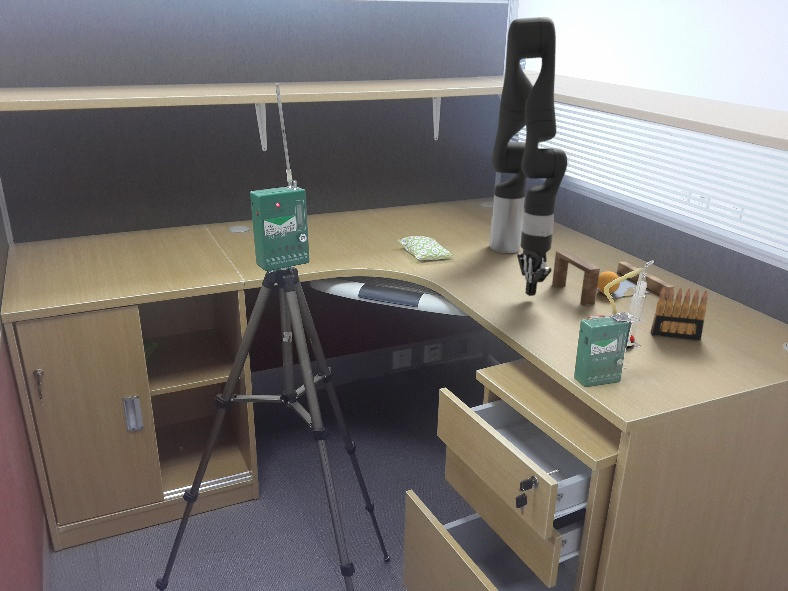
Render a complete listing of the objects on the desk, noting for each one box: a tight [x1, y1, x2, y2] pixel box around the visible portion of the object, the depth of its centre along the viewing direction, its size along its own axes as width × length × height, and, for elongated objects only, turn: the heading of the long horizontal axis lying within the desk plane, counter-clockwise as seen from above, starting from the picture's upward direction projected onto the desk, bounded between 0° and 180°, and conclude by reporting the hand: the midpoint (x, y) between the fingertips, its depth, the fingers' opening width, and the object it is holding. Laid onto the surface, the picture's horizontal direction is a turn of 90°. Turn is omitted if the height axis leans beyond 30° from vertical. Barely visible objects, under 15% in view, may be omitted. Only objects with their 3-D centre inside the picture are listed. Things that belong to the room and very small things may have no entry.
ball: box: [597, 270, 620, 294], centre depth 174 cm, size 6×6×6 cm
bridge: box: [551, 249, 601, 306], centre depth 173 cm, size 3×15×10 cm, turn 20°
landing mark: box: [597, 279, 650, 300], centre depth 179 cm, size 12×12×1 cm
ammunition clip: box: [650, 286, 708, 341], centre depth 150 cm, size 11×2×12 cm, turn 77°
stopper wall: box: [616, 261, 675, 299], centre depth 182 cm, size 20×2×3 cm, turn 21°
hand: (530, 294), depth 170 cm, fingers closed
